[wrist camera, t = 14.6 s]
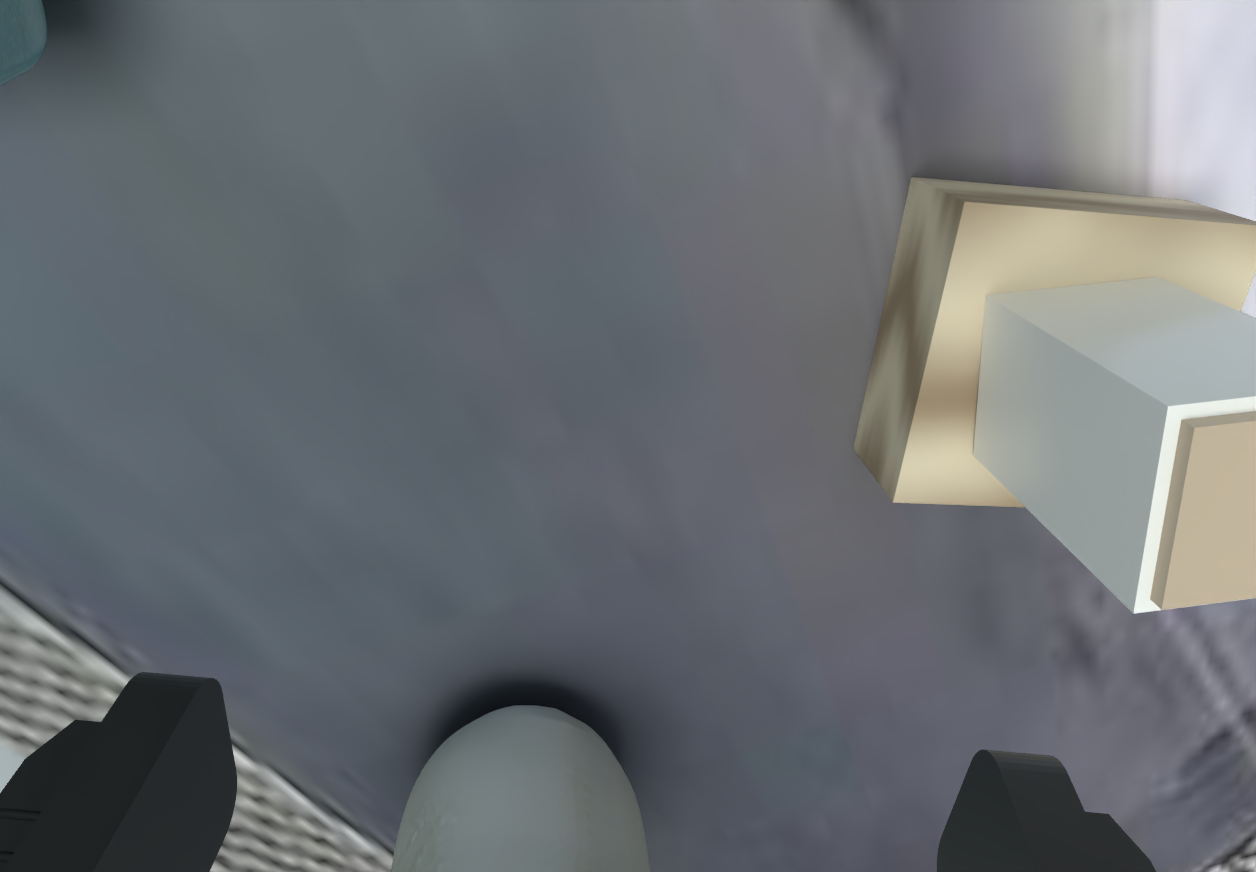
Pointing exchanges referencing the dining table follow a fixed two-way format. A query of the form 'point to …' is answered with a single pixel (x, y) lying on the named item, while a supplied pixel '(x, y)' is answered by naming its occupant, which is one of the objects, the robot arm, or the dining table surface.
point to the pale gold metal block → (1002, 263)
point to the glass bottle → (522, 801)
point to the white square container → (1128, 433)
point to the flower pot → (20, 36)
